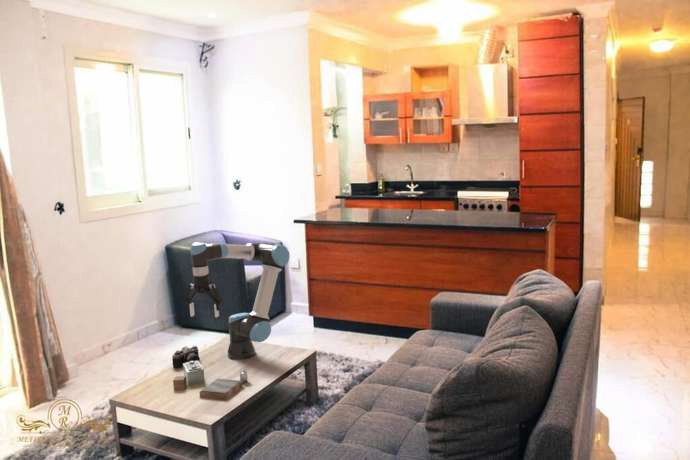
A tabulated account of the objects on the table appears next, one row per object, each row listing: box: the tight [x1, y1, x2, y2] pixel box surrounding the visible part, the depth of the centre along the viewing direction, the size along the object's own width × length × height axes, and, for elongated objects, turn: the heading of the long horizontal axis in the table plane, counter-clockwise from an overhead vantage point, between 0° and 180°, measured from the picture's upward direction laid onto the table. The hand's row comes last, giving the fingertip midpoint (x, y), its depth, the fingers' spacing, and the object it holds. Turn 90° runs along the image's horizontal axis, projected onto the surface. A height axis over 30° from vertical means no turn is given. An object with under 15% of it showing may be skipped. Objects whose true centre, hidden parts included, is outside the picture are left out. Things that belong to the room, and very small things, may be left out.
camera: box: [171, 345, 201, 369], centre depth 310 cm, size 16×10×10 cm, turn 141°
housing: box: [182, 361, 205, 386], centre depth 290 cm, size 8×14×8 cm, turn 24°
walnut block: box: [172, 375, 188, 391], centre depth 280 cm, size 5×5×5 cm
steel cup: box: [239, 370, 249, 384], centre depth 284 cm, size 4×4×5 cm
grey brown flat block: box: [199, 378, 244, 401], centre depth 273 cm, size 16×14×3 cm
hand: (204, 316), depth 285 cm, fingers open, 13 cm apart
